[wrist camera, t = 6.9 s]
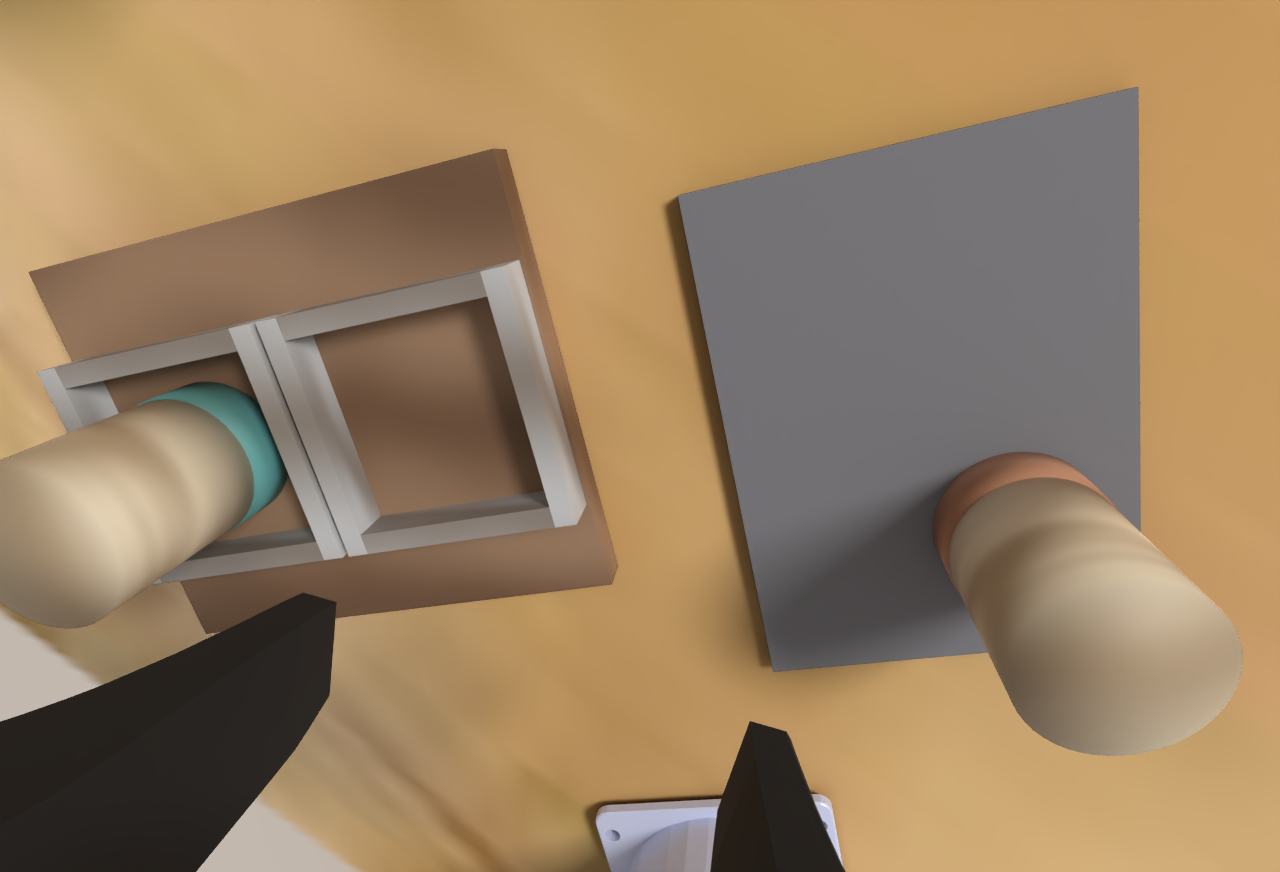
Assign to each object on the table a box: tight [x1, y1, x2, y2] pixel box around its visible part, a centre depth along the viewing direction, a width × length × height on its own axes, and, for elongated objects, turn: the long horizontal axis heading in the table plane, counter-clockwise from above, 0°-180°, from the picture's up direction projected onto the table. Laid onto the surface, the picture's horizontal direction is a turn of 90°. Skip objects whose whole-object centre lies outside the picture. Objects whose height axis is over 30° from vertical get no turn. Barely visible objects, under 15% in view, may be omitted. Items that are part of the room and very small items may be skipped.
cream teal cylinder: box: [0, 381, 288, 628], centre depth 18 cm, size 4×4×6 cm
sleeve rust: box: [932, 452, 1243, 756], centre depth 16 cm, size 4×4×6 cm
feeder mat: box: [678, 87, 1141, 672], centre depth 19 cm, size 14×10×1 cm
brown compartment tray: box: [29, 149, 618, 634], centre depth 20 cm, size 12×14×2 cm
